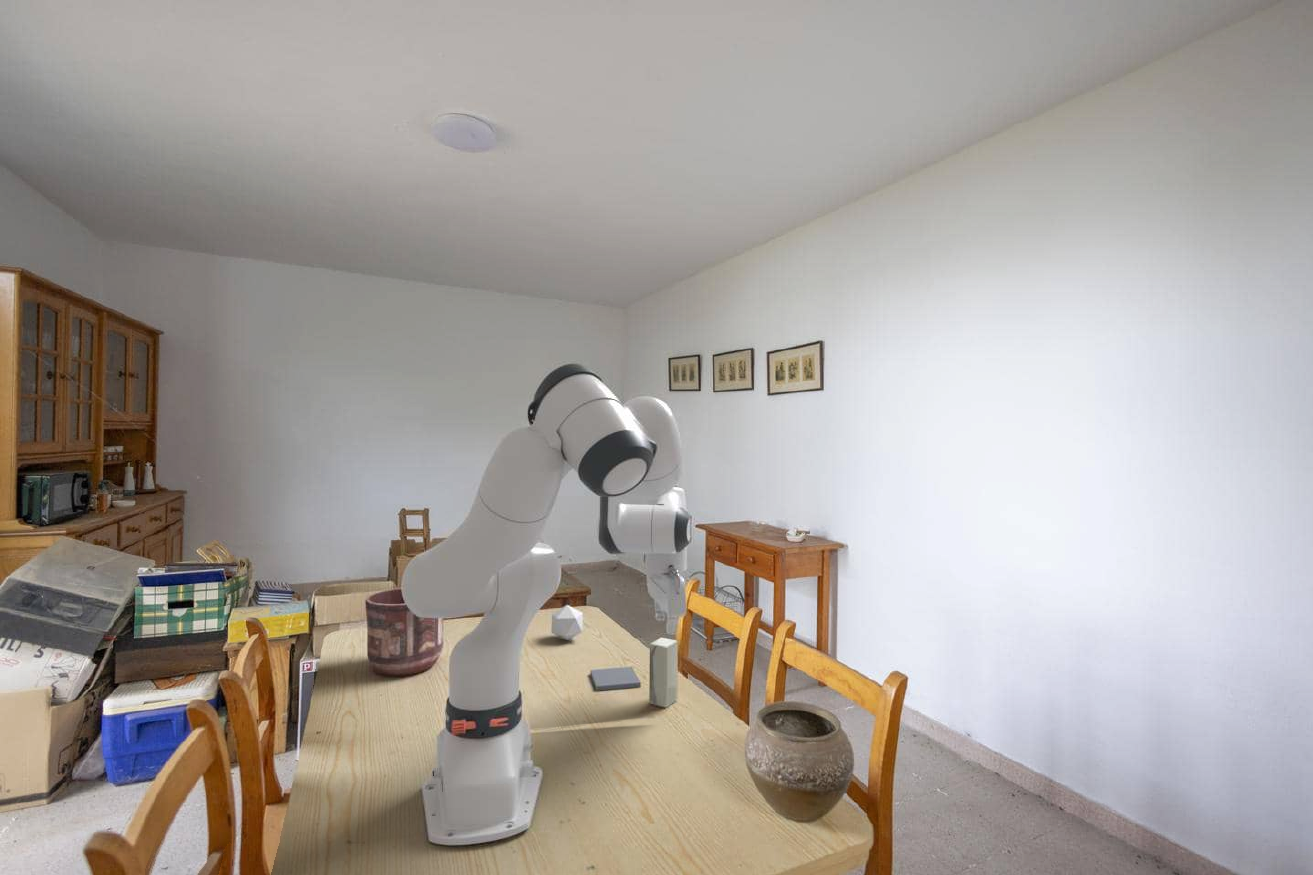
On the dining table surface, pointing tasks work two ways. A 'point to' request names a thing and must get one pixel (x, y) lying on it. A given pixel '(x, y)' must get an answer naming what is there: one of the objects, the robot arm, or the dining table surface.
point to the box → (663, 672)
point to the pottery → (400, 636)
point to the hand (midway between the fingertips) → (665, 626)
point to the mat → (615, 678)
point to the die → (567, 622)
